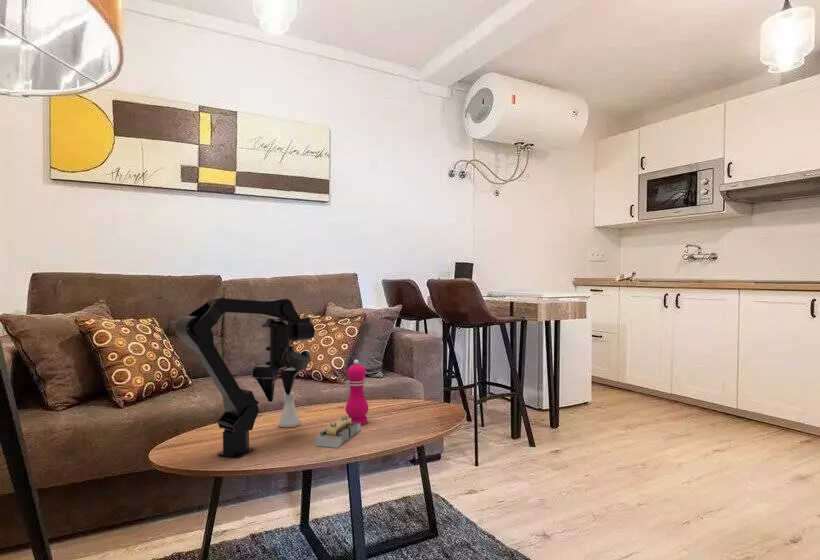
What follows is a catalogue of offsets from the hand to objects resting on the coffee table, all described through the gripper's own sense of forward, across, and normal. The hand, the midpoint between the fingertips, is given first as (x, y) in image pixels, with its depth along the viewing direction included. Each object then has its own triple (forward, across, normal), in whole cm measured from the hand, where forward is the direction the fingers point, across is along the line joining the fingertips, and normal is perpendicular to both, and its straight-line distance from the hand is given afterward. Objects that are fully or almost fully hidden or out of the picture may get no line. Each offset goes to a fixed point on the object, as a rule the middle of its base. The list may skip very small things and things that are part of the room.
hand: (279, 398), depth 133 cm
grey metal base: (+12, +6, -16) cm, 20 cm away
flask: (+12, +14, +5) cm, 19 cm away
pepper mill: (+12, +21, -15) cm, 28 cm away
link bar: (+11, +6, -16) cm, 20 cm away
